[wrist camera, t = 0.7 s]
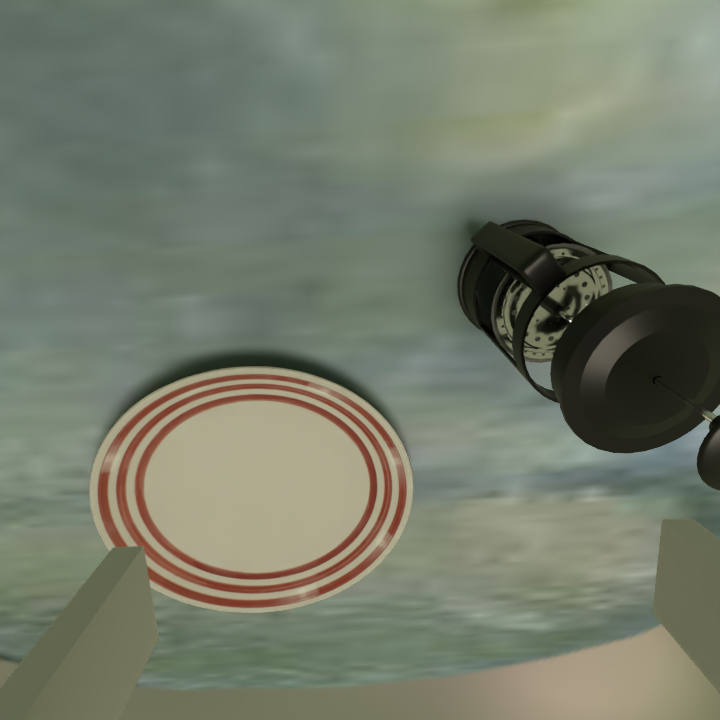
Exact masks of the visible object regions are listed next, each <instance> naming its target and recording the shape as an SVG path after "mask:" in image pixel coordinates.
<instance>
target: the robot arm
mask: <svg viewBox="0 0 720 720" xmlns="http://www.w3.org/2000/svg"><path fill="white" fill-rule="evenodd" d="M652 613H653V614H654V615H655V616H656V618H657V619H658V620H659V621H660V622H661V624H662V625H663V626H664V627H665V628H666V630H667V631H668V632H669V633H670V634H671V636H672V637H673V638H674V639H675V640H676V641H677V643H678V644H679V645H680V646H681V648H682V649H683V650H684V651H685V652H686V653H687V655H688V656H689V657H690V658H691V660H692V661H693V662H694V663H695V664H696V666H697V667H698V668H699V669H700V670H701V672H702V673H703V674H704V675H705V676H706V677H707V679H708V680H709V681H710V682H711V684H713V686H714V687H715V688H716V689H717V691H718V692H719V693H720V539H718V538H717V537H716V536H714V535H713V534H712V533H711V532H709V531H708V530H707V529H705V528H704V527H703V526H702V525H700V524H699V523H698V522H697V521H695V520H694V519H693V518H684V519H664V520H662V526H661V536H660V545H659V555H658V565H657V574H656V584H655V593H654V603H653V612H652ZM158 639H159V637H158V631H157V625H156V619H155V613H154V607H153V600H152V594H151V588H150V582H149V576H148V570H147V563H146V557H145V551H144V546H133V547H114V548H112V550H111V551H110V552H109V553H108V555H107V556H106V557H105V558H104V560H103V561H102V562H101V563H100V565H99V566H98V567H97V568H96V570H95V571H94V572H93V573H92V574H91V576H90V577H89V578H88V579H87V581H86V582H85V583H84V584H83V586H82V587H81V588H80V589H79V591H78V592H77V593H76V594H75V596H74V597H73V598H72V599H71V601H70V602H69V603H68V604H67V606H66V607H65V608H64V609H63V611H62V612H61V613H60V614H59V616H58V617H57V618H56V619H55V621H54V622H53V623H52V624H51V626H50V627H49V628H48V629H47V631H46V632H45V633H44V634H43V636H42V637H41V638H40V639H39V641H38V642H37V643H36V644H35V646H34V647H33V648H32V649H31V651H30V652H29V653H28V654H27V656H26V657H25V658H24V659H23V661H22V662H21V663H20V664H19V665H18V667H17V668H16V669H15V671H14V672H13V673H12V674H11V676H10V677H9V678H8V679H7V680H6V682H5V683H4V684H3V685H2V687H1V688H0V720H119V718H120V716H121V714H122V712H123V710H124V708H125V706H126V704H127V701H128V700H129V698H130V695H131V694H132V691H133V690H134V688H135V686H136V684H137V682H138V680H139V678H140V676H141V673H142V671H143V669H144V667H145V665H146V663H147V661H148V659H149V657H150V655H151V653H152V651H153V649H154V647H155V645H156V643H157V641H158Z"/></svg>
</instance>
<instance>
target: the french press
mask: <svg viewBox="0 0 720 720" xmlns="http://www.w3.org/2000/svg"><path fill="white" fill-rule="evenodd" d="M527 238H528V239H527ZM529 239H535V240H538V241H541V242H543V243H544V244H546V245H547V246H546V247H544V246H542V245H540V244H537V243H535V242H533V241H531V240H529ZM471 242H472V243H473V244H474V246H473V247H472V248H471V249H470V251H469V253H468V254H467V256H466V257H465V259H464V262H463V264H462V267H461V269H460V274H459V278H458V296H459V301H460V305H461V307H462V309H463V311H464V313H465V315H466V316H467V317H468V319H469V320H470V321H471V322H472V323H473V324H474V325H475V326H476V327H477V328H479V329H480V330H482V331H483V332H484V333H485V334H486V335H487V336H488V337H489V338H490V339H491V341H492V342H493V343H494V344H495V345H496V346H497V347H498V348H499V350H500V351H501V352H502V353H503V354H504V355H505V356H506V357H507V358H508V360H509V361H510V362H511V363H512V364H513V365H514V366H515V367H516V368H517V370H518V371H519V372H520V373H521V374H522V375H523V376H524V377H525V379H526V380H527V381H528V382H529V383H530V384H531V385H532V386H533V387H534V389H536V390H537V391H538V392H539V393H540V394H542V395H543V396H544V397H546V398H548V399H550V400H552V401H554V402H557V403H560V408H561V411H562V413H563V416H564V419H565V421H566V422H567V424H568V425H569V427H570V428H571V429H572V431H573V432H574V433H575V434H576V435H577V436H578V437H579V438H580V439H582V440H583V441H584V442H585V443H587V444H589V445H591V446H593V447H595V448H597V449H600V450H604V451H608V452H613V453H634V452H641V451H647V450H650V449H654V448H657V447H660V446H663V445H665V444H667V443H670V442H672V441H674V440H676V439H678V438H680V437H681V436H683V435H685V434H686V433H688V432H689V431H691V430H693V429H694V428H695V427H696V426H698V425H699V424H700V423H701V422H702V421H704V420H705V419H706V420H707V421H709V422H710V425H709V430H710V431H709V433H708V434H707V436H706V437H705V438H704V440H703V442H702V444H701V446H700V448H699V452H698V456H697V468H698V473H699V475H700V477H701V479H702V480H703V481H704V482H705V483H706V484H707V485H708V486H710V487H712V488H714V489H716V490H720V415H719V416H716V415H715V414H713V413H712V412H713V411H714V410H715V409H716V408H717V407H718V405H719V404H720V297H719V296H718V295H716V294H715V293H713V292H711V291H708V290H705V289H702V288H699V287H696V286H693V285H682V284H671V285H665V283H664V282H663V281H662V280H661V278H660V277H659V276H658V275H657V274H656V273H655V272H653V271H652V270H650V269H649V268H647V267H646V266H644V265H641V264H639V263H636V262H633V261H631V260H628V259H625V258H622V257H619V256H615V255H609V254H606V253H604V252H601V251H599V250H596V249H594V248H591V247H589V246H586V245H584V244H581V243H579V242H576V241H574V240H573V239H571V238H570V237H568V236H566V235H564V234H562V233H560V232H559V231H557V230H556V229H554V228H553V227H551V226H549V225H547V224H544V223H541V222H538V221H532V220H518V221H512V222H508V223H505V224H502V225H500V226H499V225H497V224H495V223H493V222H491V221H490V222H488V223H487V224H486V225H485V226H484V227H483V228H482V229H481V230H479V231H478V232H477V233H476V234H475V235H474V236H473V237H472V238H471ZM489 261H491V262H492V263H494V264H495V265H497V266H498V267H499V268H501V269H502V270H504V271H505V273H504V275H503V276H502V278H501V280H500V281H499V283H498V286H497V288H496V291H495V293H494V297H493V301H492V310H491V317H489V316H488V315H487V314H486V313H484V311H483V310H482V309H481V307H480V305H479V303H478V301H477V296H476V291H477V286H478V282H479V280H480V277H481V275H482V273H483V271H484V269H485V267H486V266H487V264H488V263H489ZM609 271H612V272H614V273H616V274H618V275H621V276H623V277H625V278H627V279H629V280H632V281H634V282H636V283H637V284H630V285H627V286H623V287H620V288H617V289H614V290H612V280H611V276H610V273H609ZM500 344H501V345H502V346H501V345H500ZM507 351H508V352H509V353H510V354H511V355H513V356H514V359H515V360H514V359H513V358H512V357H511V356H510V355H509V353H508V352H507ZM525 361H529V362H540V363H542V362H550V361H552V363H551V373H550V375H551V383H552V388H553V391H552V390H548V389H546V388H544V387H542V386H540V385H538V384H536V383H535V382H534V381H533V380H532V378H531V377H530V376H529V373H528V371H527V368H526V365H525Z"/></svg>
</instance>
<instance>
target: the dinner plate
mask: <svg viewBox="0 0 720 720" xmlns="http://www.w3.org/2000/svg"><path fill="white" fill-rule="evenodd" d="M413 489H414V488H413V475H412V469H411V465H410V461H409V458H408V455H407V452H406V450H405V448H404V446H403V444H402V442H401V440H400V438H399V436H398V435H397V433H396V432H395V430H394V429H393V427H392V426H391V425H390V424H389V422H388V421H387V420H386V419H385V418H384V417H383V416H382V415H381V413H379V412H378V411H377V410H376V409H375V408H374V407H373V406H371V405H370V404H369V403H368V402H367V401H365V400H364V399H362V398H361V397H359V396H358V395H357V394H355V393H354V392H352V391H350V390H348V389H347V388H345V387H343V386H341V385H339V384H337V383H334V382H332V381H329V380H327V379H324V378H321V377H318V376H316V375H313V374H309V373H305V372H301V371H297V370H292V369H286V368H278V367H268V366H243V367H230V368H222V369H216V370H211V371H206V372H202V373H199V374H195V375H192V376H188V377H186V378H183V379H180V380H177V381H175V382H173V383H170V384H168V385H166V386H163V387H161V388H159V389H158V390H156V391H154V392H152V393H151V394H149V395H147V396H146V397H144V398H143V399H141V400H140V401H139V402H137V403H136V404H135V405H134V406H132V407H131V408H130V409H129V410H128V411H127V412H126V413H124V414H123V415H122V416H121V417H120V419H119V420H118V421H117V422H116V423H115V424H114V426H113V427H112V428H111V430H110V431H109V432H108V434H107V435H106V437H105V438H104V440H103V442H102V444H101V446H100V448H99V450H98V452H97V455H96V457H95V460H94V463H93V467H92V471H91V476H90V484H89V499H90V506H91V512H92V516H93V519H94V522H95V525H96V528H97V530H98V533H99V535H100V536H101V538H102V540H103V542H104V544H105V545H106V547H107V548H108V550H109V551H111V550H112V548H114V547H133V546H144V551H145V557H146V563H147V570H148V576H149V582H150V587H151V588H153V589H155V590H157V591H158V592H160V593H162V594H164V595H167V596H169V597H171V598H174V599H176V600H179V601H182V602H185V603H188V604H191V605H194V606H198V607H202V608H207V609H213V610H219V611H228V612H241V613H258V612H272V611H280V610H287V609H292V608H296V607H301V606H304V605H308V604H311V603H314V602H318V601H320V600H323V599H325V598H328V597H330V596H333V595H335V594H337V593H339V592H341V591H343V590H344V589H346V588H348V587H350V586H351V585H353V584H355V583H356V582H358V581H359V580H361V579H362V578H363V577H365V576H366V575H367V574H369V573H370V572H371V571H372V570H373V569H374V568H376V567H377V566H378V565H379V564H380V563H381V562H382V561H383V560H384V559H385V557H386V556H387V555H388V554H389V553H390V551H391V550H392V549H393V547H394V546H395V544H396V543H397V542H398V540H399V538H400V536H401V535H402V533H403V531H404V529H405V526H406V524H407V521H408V518H409V515H410V512H411V508H412V501H413Z"/></svg>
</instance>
